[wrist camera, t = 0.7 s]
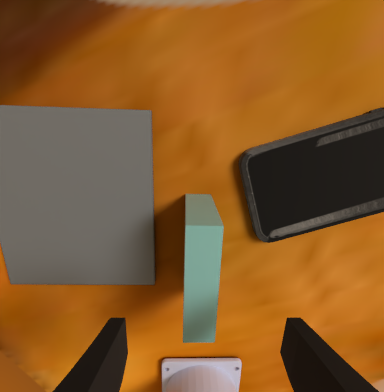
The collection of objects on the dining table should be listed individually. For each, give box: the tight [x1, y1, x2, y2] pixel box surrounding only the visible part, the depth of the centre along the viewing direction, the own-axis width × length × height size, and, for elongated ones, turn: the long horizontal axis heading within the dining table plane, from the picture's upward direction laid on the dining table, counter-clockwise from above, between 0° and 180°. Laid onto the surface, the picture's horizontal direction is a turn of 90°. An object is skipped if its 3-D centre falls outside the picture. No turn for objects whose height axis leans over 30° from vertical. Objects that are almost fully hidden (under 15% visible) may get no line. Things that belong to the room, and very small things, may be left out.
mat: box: [0, 105, 155, 285], centre depth 17 cm, size 14×12×1 cm
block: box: [183, 194, 224, 343], centre depth 15 cm, size 8×2×6 cm, turn 178°
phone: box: [239, 108, 384, 243], centre depth 17 cm, size 8×1×15 cm
